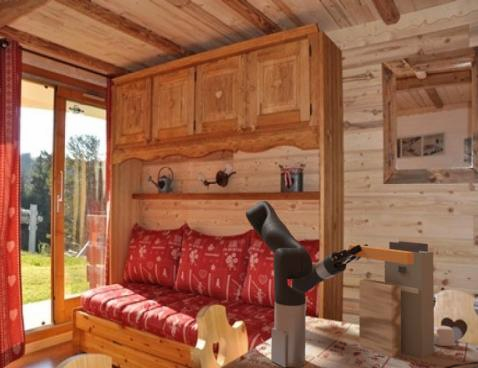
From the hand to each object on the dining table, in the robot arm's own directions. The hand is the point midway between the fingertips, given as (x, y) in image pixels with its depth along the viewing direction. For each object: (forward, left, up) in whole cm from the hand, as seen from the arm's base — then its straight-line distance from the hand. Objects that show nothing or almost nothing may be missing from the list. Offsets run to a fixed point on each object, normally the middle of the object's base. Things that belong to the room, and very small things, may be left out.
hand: (364, 247), depth 133 cm
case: (+8, -11, -32) cm, 35 cm away
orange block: (0, -6, -3) cm, 7 cm away
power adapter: (+21, -13, -33) cm, 41 cm away
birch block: (0, -6, -32) cm, 33 cm away
